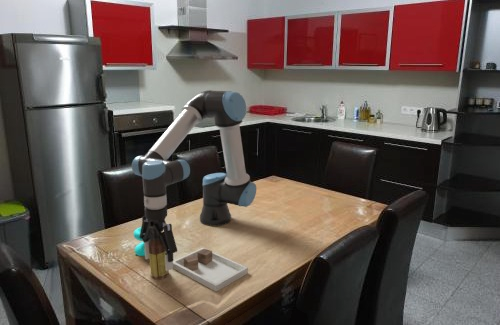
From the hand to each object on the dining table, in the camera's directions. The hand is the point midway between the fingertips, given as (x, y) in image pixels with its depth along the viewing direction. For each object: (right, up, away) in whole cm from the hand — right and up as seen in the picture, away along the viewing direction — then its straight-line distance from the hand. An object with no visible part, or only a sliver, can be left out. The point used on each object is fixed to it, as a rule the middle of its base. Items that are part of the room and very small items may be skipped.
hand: (158, 263), depth 139 cm
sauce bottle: (0, -5, +1) cm, 5 cm away
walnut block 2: (+15, -2, +11) cm, 19 cm away
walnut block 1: (+11, -3, +6) cm, 12 cm away
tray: (+17, -4, +5) cm, 19 cm away
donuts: (-9, -1, +19) cm, 21 cm away
